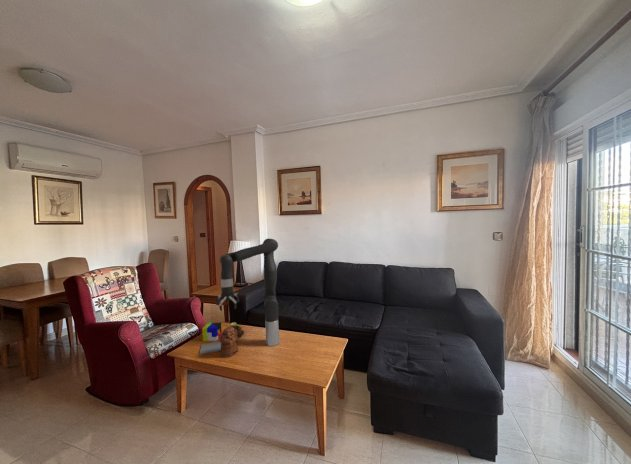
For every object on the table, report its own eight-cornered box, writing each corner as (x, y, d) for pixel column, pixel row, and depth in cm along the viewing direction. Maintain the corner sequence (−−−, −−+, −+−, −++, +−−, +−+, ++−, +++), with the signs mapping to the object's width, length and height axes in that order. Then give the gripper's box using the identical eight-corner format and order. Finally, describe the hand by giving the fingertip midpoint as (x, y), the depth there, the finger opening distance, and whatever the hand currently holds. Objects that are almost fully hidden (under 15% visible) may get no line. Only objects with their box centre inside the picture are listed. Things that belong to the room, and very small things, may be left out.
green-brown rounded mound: (222, 333, 202) (221, 320, 201) (242, 329, 208) (242, 317, 207) (223, 342, 186) (222, 329, 185) (245, 337, 192) (245, 325, 192)
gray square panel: (222, 342, 185) (222, 341, 184) (222, 350, 172) (222, 349, 172) (201, 346, 180) (201, 344, 180) (199, 355, 168) (199, 353, 168)
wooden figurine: (227, 359, 161) (226, 331, 161) (219, 357, 164) (218, 329, 164) (240, 350, 172) (239, 324, 171) (233, 348, 175) (232, 323, 174)
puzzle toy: (216, 341, 187) (215, 328, 187) (202, 341, 187) (202, 328, 187) (221, 335, 197) (221, 322, 197) (208, 335, 197) (208, 322, 197)
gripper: (238, 282, 172) (239, 306, 173) (215, 285, 167) (216, 309, 168) (238, 285, 165) (239, 309, 166) (215, 287, 160) (216, 313, 161)
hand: (228, 309), depth 167 cm, fingers open, 8 cm apart
